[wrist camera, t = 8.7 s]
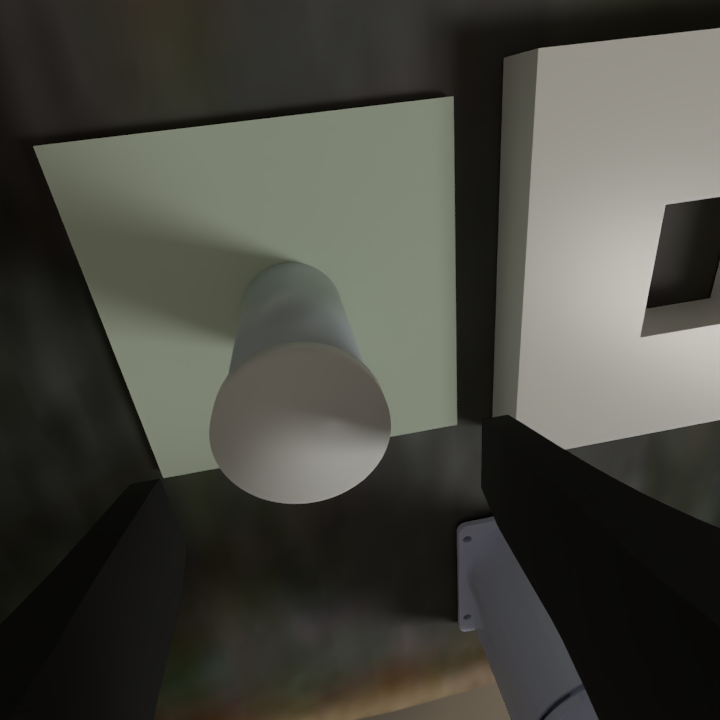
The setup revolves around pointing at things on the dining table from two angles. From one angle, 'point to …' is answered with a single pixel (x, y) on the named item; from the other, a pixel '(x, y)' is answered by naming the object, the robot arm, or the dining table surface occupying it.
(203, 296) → the mat
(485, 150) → the dining table surface
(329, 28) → the dining table surface
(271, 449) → the cartridge
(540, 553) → the robot arm
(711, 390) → the housing
